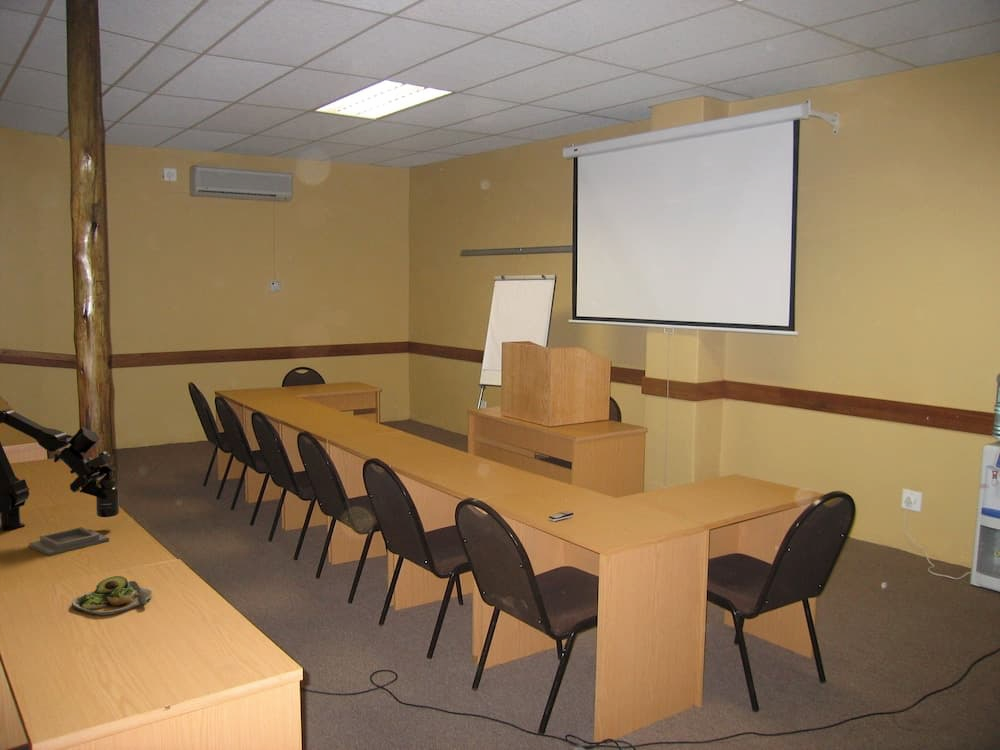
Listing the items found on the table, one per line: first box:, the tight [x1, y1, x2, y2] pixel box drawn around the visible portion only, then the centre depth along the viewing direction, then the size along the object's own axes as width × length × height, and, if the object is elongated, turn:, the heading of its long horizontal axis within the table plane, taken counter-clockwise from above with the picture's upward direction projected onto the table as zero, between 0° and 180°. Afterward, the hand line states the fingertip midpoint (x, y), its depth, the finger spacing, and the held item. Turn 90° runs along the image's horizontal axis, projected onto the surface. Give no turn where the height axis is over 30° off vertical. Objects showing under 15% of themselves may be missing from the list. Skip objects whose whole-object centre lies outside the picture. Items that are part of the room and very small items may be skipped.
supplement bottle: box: [95, 478, 120, 518], centre depth 259 cm, size 7×7×12 cm
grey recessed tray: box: [29, 526, 110, 556], centre depth 244 cm, size 14×18×2 cm
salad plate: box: [71, 575, 153, 616], centre depth 199 cm, size 19×18×5 cm
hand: (111, 495), depth 259 cm, fingers closed on supplement bottle, 7 cm apart
